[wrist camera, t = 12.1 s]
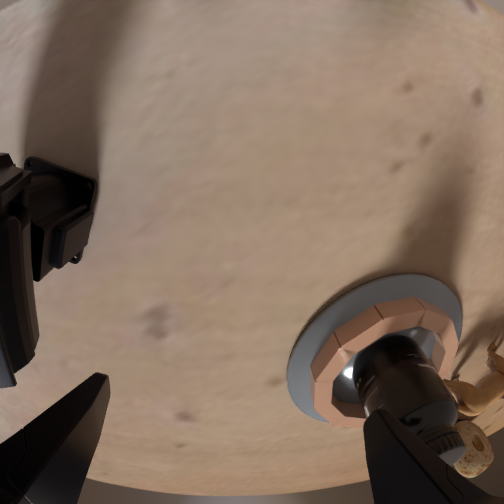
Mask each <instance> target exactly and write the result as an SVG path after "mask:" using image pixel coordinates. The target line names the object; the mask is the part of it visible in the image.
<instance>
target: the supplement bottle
mask: <svg viewBox="0 0 504 504" xmlns="http://www.w3.org/2000/svg"><path fill="white" fill-rule="evenodd" d="M352 379H353V383H354V385H355V388H356V391H357V393H358V396H359V399H360V401H361V404H362V407H363V409H364V412H365V414H366V417H367V418H368V417H369V415H370V414H371V412H372V411H373V410H374V409H378V408H384V409H386V410H387V411H389V412H390V413H391V414H392V415H393V416H394V417H395V418H396V419H397V420H399V421H400V422H401V423H402V424H403V425H404V426H405V427H406V428H407V429H409V430H410V431H411V432H412V433H413V434H414V435H415V436H417V437H418V438H419V439H420V440H421V441H422V442H423V443H424V444H426V445H427V446H428V447H429V448H430V449H431V450H432V451H434V452H435V453H436V454H437V455H438V456H439V457H440V458H442V459H443V460H444V461H445V462H446V463H447V464H449V465H450V466H452V465H453V464H454V463H456V462H457V461H458V460H459V459H460V458H461V457H462V456H463V454H464V453H465V450H466V445H465V443H464V441H463V440H462V438H461V436H460V432H459V431H458V429H457V428H456V427H454V426H455V424H456V421H457V419H458V413H459V409H458V404H457V402H456V400H455V398H454V397H453V395H452V394H451V392H450V391H449V389H448V387H447V386H446V384H445V383H444V381H443V380H442V378H441V377H440V375H439V374H438V372H437V371H436V369H435V368H434V366H433V365H432V363H431V362H430V360H429V359H428V358H427V356H426V355H425V353H424V352H423V350H422V349H421V348H420V346H419V345H418V344H417V342H416V341H415V340H413V339H412V338H410V337H408V336H404V335H394V336H389V337H386V338H383V339H381V340H378V341H377V342H375V343H373V344H372V345H370V346H369V347H368V348H367V349H366V350H365V351H363V353H362V354H361V355H360V356H359V357H358V359H357V361H356V363H355V365H354V367H353V371H352Z"/></svg>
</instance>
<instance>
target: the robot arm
mask: <svg viewBox="0 0 504 504" xmlns="http://www.w3.org/2000/svg"><path fill="white" fill-rule="evenodd" d="M30 161H31V162H32V166H31V165H30ZM88 183H91V185H92V188H91V189H90V188H89V187H88ZM96 190H97V182H96V180H95V179H93V178H91V177H88V176H85V175H83V174H80V173H77V172H75V171H72V170H69V169H67V168H64V167H61V166H58V165H56V164H53V163H50V162H48V161H45V160H42V159H39V158H37V157H33V156H32V157H28V158H27V159H26V161H25V164H24V169H21V168H18V167H16V164H14V163H13V161H12V159H11V157H10V155H9V154H8V153H0V388H7V387H13V386H16V384H17V382H16V379H15V376H14V373H16V372H17V371H19V370H20V369H21V368H23V367H24V366H26V365H27V364H28V363H29V362H30V361H31V360H32V358H33V357H34V356H35V351H34V350H35V348H36V345H37V342H38V339H39V327H38V319H37V312H36V304H35V295H34V285H33V280H34V281H37V282H39V281H40V280H41V279H42V278H43V277H44V276H46V275H47V274H48V273H49V272H50V271H51V270H52V269H53V268H54V267H55V268H57V269H60V268H62V267H63V266H64V265H65V264H66V263H67V262H71V263H73V264H77V263H78V262H79V261H80V260H81V259H82V254H83V248H84V247H85V246H86V245H87V243H88V238H89V233H90V228H91V224H92V219H93V215H94V213H93V211H92V206H93V202H94V197H95V194H96ZM75 255H76V257H77V259H76V258H74V256H75ZM109 399H110V383H109V377H108V375H106V374H102V373H99V372H96V373H94V374H93V375H91V376H90V377H89V378H88V379H86V380H85V381H84V382H82V383H81V384H80V385H78V386H77V387H76V388H74V389H73V390H72V391H70V392H69V393H68V394H67V395H65V396H64V397H63V398H61V399H60V400H59V401H57V402H56V403H55V404H53V405H52V406H51V407H50V408H48V409H47V410H46V411H44V412H43V413H42V414H40V415H39V416H38V417H36V418H35V419H34V420H33V421H31V422H30V423H29V424H27V425H26V426H25V427H24V428H23V429H21V430H19V431H18V432H17V433H15V434H14V435H13V436H11V437H10V438H8V439H7V440H5V441H4V442H2V443H1V444H0V504H77V502H78V499H79V496H80V493H81V490H82V487H83V484H84V481H85V478H86V475H87V472H88V469H89V466H90V464H91V461H92V458H93V455H94V452H95V450H96V447H97V444H98V442H99V439H100V435H101V431H102V427H103V423H104V419H105V415H106V411H107V407H108V403H109ZM363 431H364V441H365V451H366V461H367V467H368V472H369V477H370V482H371V487H372V493H373V498H374V504H504V497H497V496H493V495H490V494H488V493H486V492H485V491H483V490H482V489H480V488H479V487H477V486H476V485H475V484H473V483H472V482H470V481H469V480H467V479H466V478H465V477H463V476H462V475H461V474H459V473H458V472H457V471H456V470H454V469H453V468H452V467H451V466H450V465H449V464H447V463H446V462H445V461H444V460H443V459H442V458H440V457H439V456H438V455H437V454H436V453H435V452H434V451H432V450H431V449H430V448H429V447H428V446H427V445H426V444H424V443H423V442H422V441H421V440H420V439H419V438H418V437H417V436H415V435H414V434H413V433H412V432H411V431H410V430H409V429H407V428H406V427H405V426H404V425H403V424H402V423H401V422H400V421H399V420H397V419H396V418H395V417H394V416H393V415H392V414H391V413H390V412H389V411H387V410H386V409H384V408H378V409H374V410H373V411H372V412H371V414H370V415H369V417H368V418H367V419H366V420H365V422H364V425H363Z"/></svg>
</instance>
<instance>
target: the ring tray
mask: <svg viewBox="0 0 504 504" xmlns="http://www.w3.org/2000/svg"><path fill="white" fill-rule="evenodd" d="M461 332H462V311H461V307H460V304H459V301H458V299H457V298H456V296H455V294H454V293H453V292H452V291H451V290H450V289H449V288H448V287H447V286H446V285H445V284H444V283H442V282H441V281H439V280H437V279H435V278H433V277H430V276H428V275H423V274H418V273H402V274H393V275H389V276H385V277H381V278H378V279H375V280H372V281H370V282H367V283H365V284H363V285H361V286H359V287H356V288H354V289H352V290H351V291H349V292H348V293H346V294H344V295H343V296H341V297H339V298H338V299H337V300H335V301H334V302H333V303H331V304H330V305H329V306H327V307H326V308H325V309H324V310H323V311H322V312H321V313H320V314H318V315H317V316H316V317H315V318H314V320H313V321H312V322H311V323H310V324H309V325H308V326H307V327H306V329H305V330H304V332H303V333H302V334H301V336H300V337H299V339H298V340H297V342H296V344H295V346H294V348H293V350H292V352H291V355H290V358H289V361H288V366H287V384H288V390H289V393H290V396H291V398H292V400H293V402H294V403H295V405H296V406H297V407H298V408H299V409H300V410H301V411H302V412H304V413H305V414H306V415H308V416H310V417H312V418H314V419H317V420H320V421H323V422H328V423H331V424H332V425H336V426H345V427H356V428H362V427H363V425H364V422H365V420H366V419H367V417H366V414H365V412H364V409H363V407H362V404H361V401H360V399H359V396H358V393H357V391H356V388H355V385H354V383H353V379H352V371H353V367H354V365H355V363H356V361H357V359H358V357H359V356H360V355H361V354H362V353H363V351H365V350H366V349H367V348H368V347H369V346H370V345H372V344H373V343H375V342H377V341H378V340H381V339H383V338H386V337H389V336H394V335H404V336H408V337H410V338H412V339H413V340H415V341H416V342H417V344H418V345H419V346H420V348H421V349H422V350H423V352H424V353H425V355H426V356H427V358H428V359H429V360H430V362H431V363H432V365H433V366H434V368H435V369H436V371H437V372H438V374H439V375H440V377H441V378H442V380H443V379H444V378H445V377H446V376H447V375H448V373H449V371H450V369H451V366H452V363H453V360H454V358H455V355H456V352H457V349H458V346H459V340H460V336H461Z"/></svg>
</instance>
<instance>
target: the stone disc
mask: <svg viewBox="0 0 504 504" xmlns="http://www.w3.org/2000/svg"><path fill="white" fill-rule="evenodd" d="M454 427H456V428H457V429H458V431H459V432H460V436H461V438H462V440H463V441H464V443H465V445H466V450H465V453H464V454H463V456H462V457H461V458H460V459H459V460H458V461H457V462H456V463H454V466H455V468H456V469H457V471H458V472H459V473H460V474H461V475H463V476H465V477H468V478H472V477H475V476H477V475H479V474H480V473H482V472H483V471H484V470H485V469H486V468H487V467H488V466H489V465H490V464H491V462H492V461H493V451H492V447H491V445H490V443H489V441H488V438H487V437H486V435H485V433H484V432H483V430H482V429H481V428H480V427H479V426H477V425H476V424H474V423H472V422H471V421H468V420H463V421H460V422H457V423H456V424H455V426H454Z"/></svg>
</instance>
